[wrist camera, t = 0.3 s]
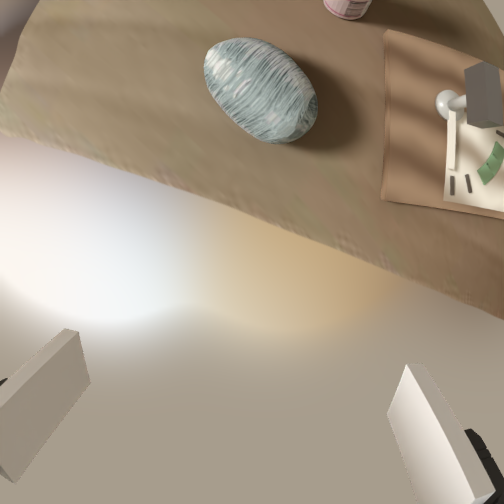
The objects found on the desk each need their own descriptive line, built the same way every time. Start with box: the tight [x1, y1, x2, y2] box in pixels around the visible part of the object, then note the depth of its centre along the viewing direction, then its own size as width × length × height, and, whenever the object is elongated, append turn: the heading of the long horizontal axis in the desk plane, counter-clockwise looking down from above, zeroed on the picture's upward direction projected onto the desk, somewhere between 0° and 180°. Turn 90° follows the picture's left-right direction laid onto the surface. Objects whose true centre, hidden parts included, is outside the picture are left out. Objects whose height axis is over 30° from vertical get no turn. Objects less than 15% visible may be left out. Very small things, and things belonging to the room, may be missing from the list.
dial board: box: [380, 29, 504, 219], centre depth 31 cm, size 22×20×2 cm
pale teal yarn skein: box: [204, 38, 318, 144], centre depth 30 cm, size 14×10×10 cm
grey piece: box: [435, 61, 503, 169], centre depth 25 cm, size 11×4×10 cm, turn 177°
